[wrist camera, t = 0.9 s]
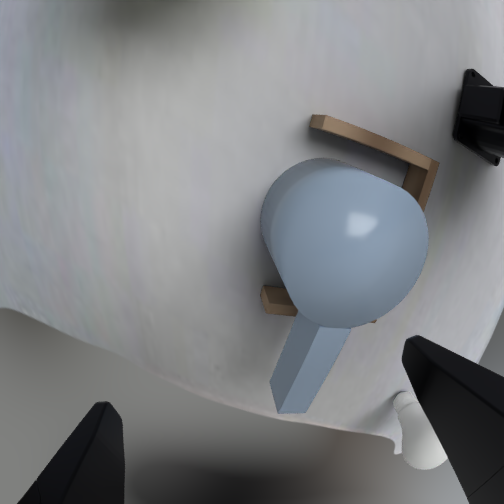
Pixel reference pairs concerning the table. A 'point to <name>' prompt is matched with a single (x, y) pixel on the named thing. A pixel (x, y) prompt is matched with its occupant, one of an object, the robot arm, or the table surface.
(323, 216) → the blue scoop
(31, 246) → the table surface
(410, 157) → the holder
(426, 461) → the lightbulb
